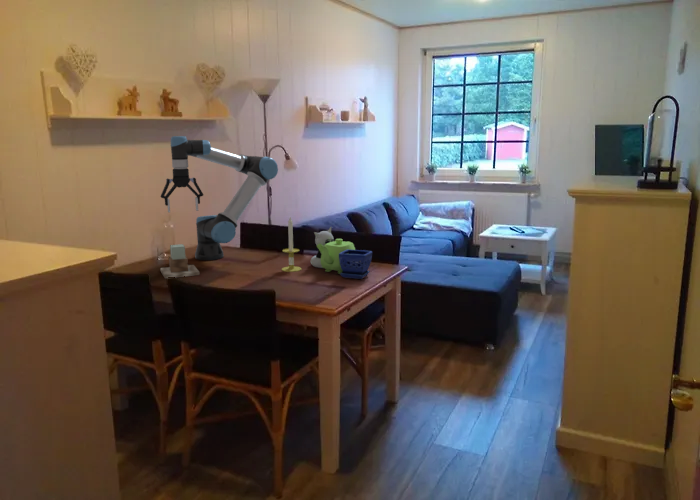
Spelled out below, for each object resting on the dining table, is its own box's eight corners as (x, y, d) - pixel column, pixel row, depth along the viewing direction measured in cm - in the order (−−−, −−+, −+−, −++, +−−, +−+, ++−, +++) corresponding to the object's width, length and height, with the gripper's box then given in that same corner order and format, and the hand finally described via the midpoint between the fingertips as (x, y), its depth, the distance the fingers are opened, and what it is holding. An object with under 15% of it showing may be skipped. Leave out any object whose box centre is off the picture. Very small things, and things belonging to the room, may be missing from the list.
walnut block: (186, 267, 276) (185, 255, 275) (188, 271, 269) (187, 258, 267) (169, 268, 273) (168, 256, 272) (171, 272, 266) (170, 260, 265)
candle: (305, 268, 280) (304, 215, 275) (295, 272, 272) (293, 218, 266) (288, 266, 285) (286, 214, 279) (277, 270, 276) (276, 216, 270)
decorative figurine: (319, 270, 275) (318, 231, 271) (305, 264, 287) (304, 226, 283) (344, 266, 283) (344, 228, 279) (330, 260, 295) (330, 223, 291)
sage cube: (183, 256, 273) (182, 244, 272) (185, 258, 268) (184, 246, 267) (170, 257, 271) (170, 245, 270) (172, 259, 266) (171, 247, 264)
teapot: (329, 262, 292) (329, 232, 288) (364, 268, 280) (364, 237, 277) (299, 272, 272) (299, 240, 268) (335, 279, 260) (335, 246, 256)
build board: (193, 267, 282) (193, 264, 281) (199, 274, 268) (199, 271, 267) (160, 270, 275) (160, 267, 275) (164, 278, 261) (164, 275, 261)
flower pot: (364, 280, 254) (365, 254, 253) (337, 278, 258) (337, 252, 257) (372, 275, 267) (373, 250, 265) (346, 273, 271) (346, 249, 269)
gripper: (204, 167, 280) (207, 208, 285) (152, 168, 270) (156, 211, 274) (207, 167, 274) (210, 210, 278) (154, 169, 263) (157, 213, 268)
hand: (183, 211), depth 276 cm, fingers open, 13 cm apart
